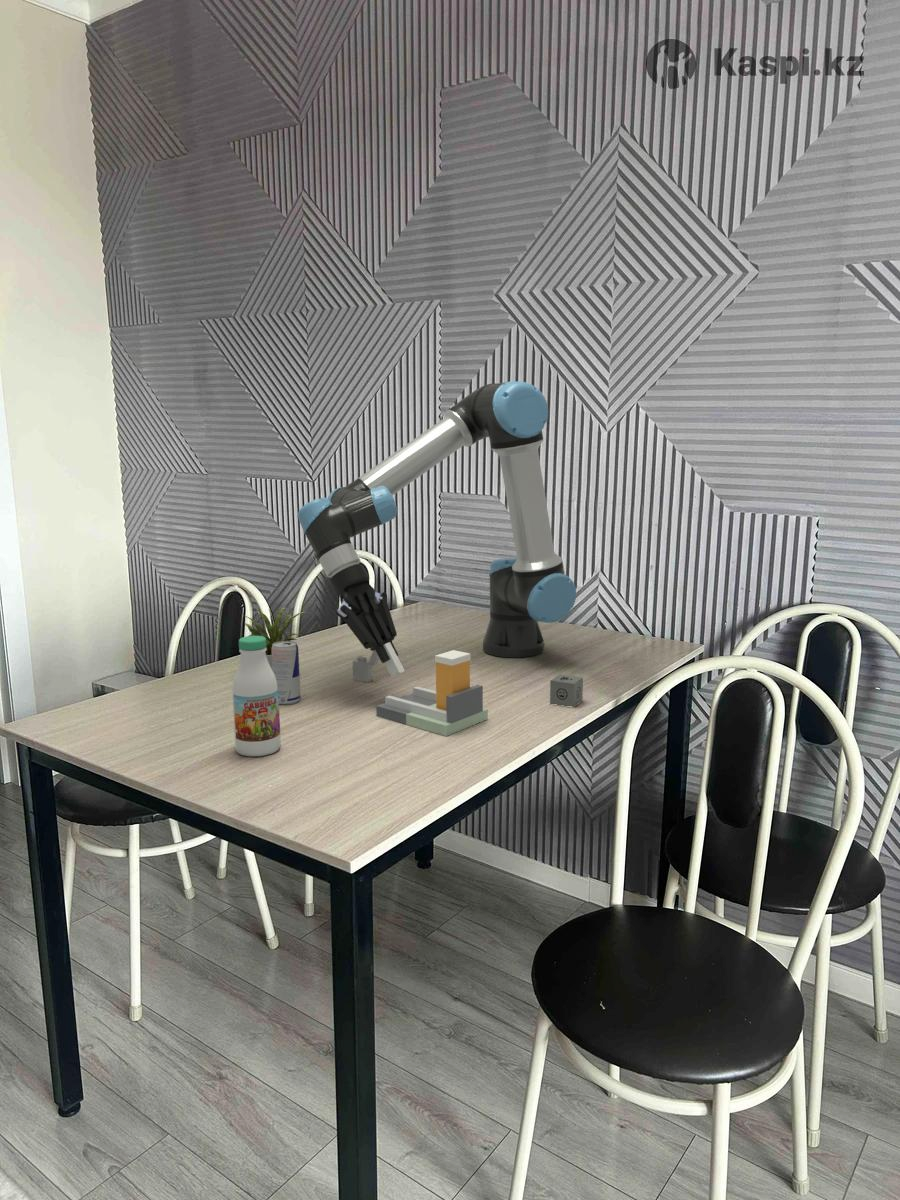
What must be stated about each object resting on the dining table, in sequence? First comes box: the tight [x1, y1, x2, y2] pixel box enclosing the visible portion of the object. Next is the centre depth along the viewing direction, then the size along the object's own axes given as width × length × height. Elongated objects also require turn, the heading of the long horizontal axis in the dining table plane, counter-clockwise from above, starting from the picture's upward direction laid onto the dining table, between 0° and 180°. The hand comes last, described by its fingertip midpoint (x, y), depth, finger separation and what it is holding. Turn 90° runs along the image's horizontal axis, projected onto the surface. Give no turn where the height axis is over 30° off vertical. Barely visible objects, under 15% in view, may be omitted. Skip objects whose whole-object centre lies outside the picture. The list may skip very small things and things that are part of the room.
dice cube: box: [549, 673, 584, 708], centre depth 178 cm, size 5×5×5 cm
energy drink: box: [271, 640, 301, 705], centre depth 181 cm, size 5×5×12 cm
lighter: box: [352, 650, 380, 683], centre depth 194 cm, size 7×2×8 cm, turn 63°
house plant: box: [244, 606, 307, 671], centre depth 197 cm, size 14×14×16 cm
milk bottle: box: [232, 635, 282, 757], centre depth 153 cm, size 8×8×20 cm
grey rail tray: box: [375, 684, 489, 737], centre depth 170 cm, size 18×12×7 cm, turn 49°
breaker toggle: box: [434, 649, 472, 711], centre depth 165 cm, size 4×5×11 cm
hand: (398, 674), depth 176 cm, fingers closed
